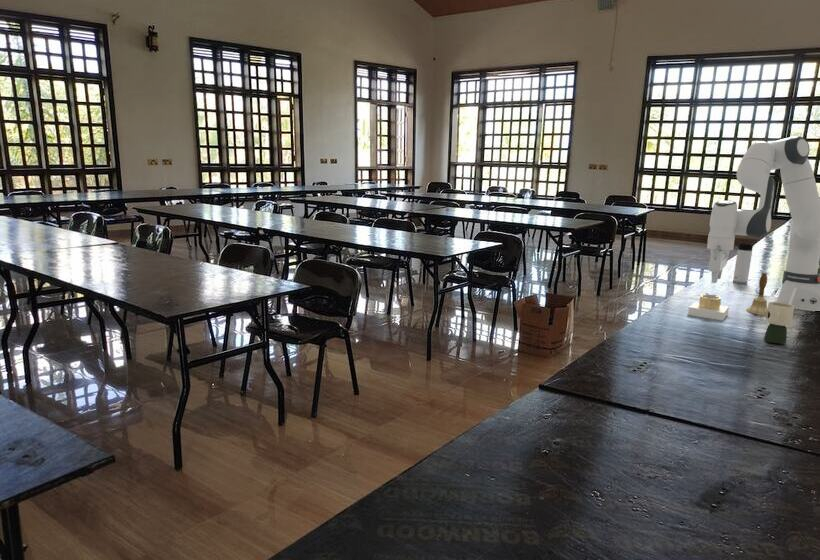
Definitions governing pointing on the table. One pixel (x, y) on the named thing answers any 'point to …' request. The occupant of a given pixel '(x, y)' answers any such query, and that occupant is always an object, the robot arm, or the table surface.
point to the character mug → (778, 321)
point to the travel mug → (742, 263)
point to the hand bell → (760, 299)
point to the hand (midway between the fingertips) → (716, 280)
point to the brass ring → (709, 302)
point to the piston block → (708, 310)
